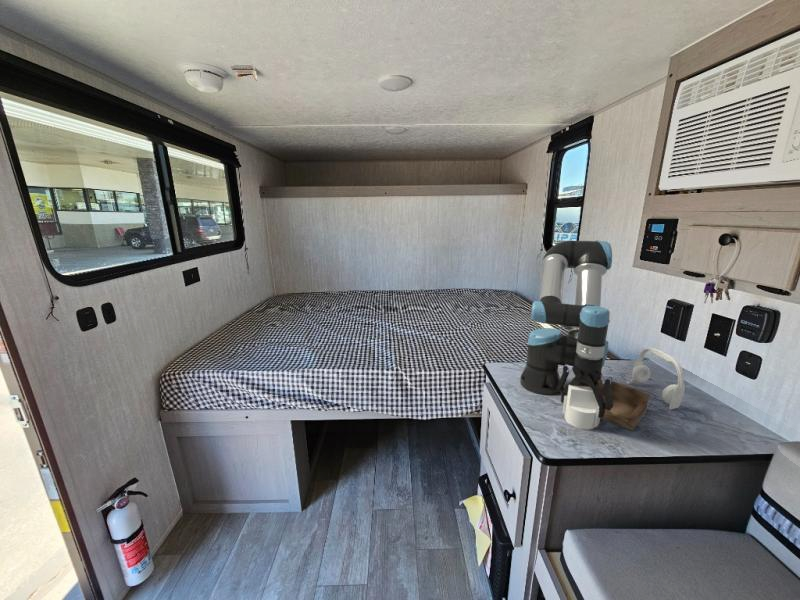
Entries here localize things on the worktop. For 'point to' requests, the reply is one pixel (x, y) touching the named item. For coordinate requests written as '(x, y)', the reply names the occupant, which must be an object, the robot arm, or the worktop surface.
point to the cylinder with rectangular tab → (581, 407)
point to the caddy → (624, 404)
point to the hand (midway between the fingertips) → (580, 418)
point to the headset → (671, 392)
